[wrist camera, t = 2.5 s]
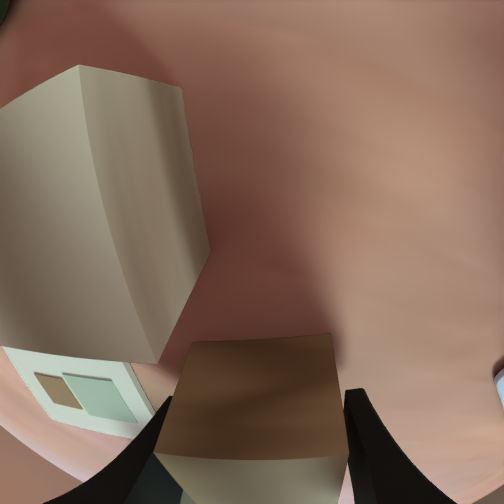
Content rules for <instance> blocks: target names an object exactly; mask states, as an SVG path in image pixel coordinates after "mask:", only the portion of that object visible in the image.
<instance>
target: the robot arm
mask: <svg viewBox="0 0 504 504" xmlns="http://www.w3.org/2000/svg"><path fill="white" fill-rule="evenodd" d="M494 383H495V386H496V389H497V392H498V395H499V398H500V401H501V404H502V407H503V411H504V368H503V369H502V370H501V371H500V372H499V373H498V374H497V375H496V376H495V379H494ZM172 397H173V396H169V397H168V398H167V399H166V400H165V402H164V403H163V404H162V406H161V407H160V408H159V409H158V411H157V412H156V413H155V415H154V416H153V417H152V418H151V420H150V421H149V422H148V423H147V424H146V426H145V427H144V428H143V429H142V430H141V432H140V433H139V434H138V435H137V436H136V437H135V439H134V440H133V441H132V442H131V443H130V444H129V445H128V446H127V447H126V448H125V449H124V450H123V451H122V452H121V453H120V454H119V455H118V456H117V457H116V458H115V459H114V460H113V461H112V462H111V463H109V464H108V465H107V466H106V467H105V468H104V469H102V470H101V471H100V472H98V473H97V474H96V475H94V476H93V477H92V478H90V479H89V480H87V481H86V482H84V483H83V484H81V485H79V486H78V487H76V488H74V489H73V490H71V491H69V492H67V493H65V494H63V495H61V496H59V497H57V498H55V499H52V500H50V501H48V502H45V503H43V504H180V502H181V497H182V493H183V489H182V487H181V486H180V485H179V484H178V483H177V482H176V480H175V479H174V478H173V477H172V476H171V474H170V473H169V472H168V471H167V469H166V468H165V467H164V466H163V464H162V463H161V462H160V461H159V459H158V458H157V457H156V455H155V454H154V453H153V452H154V449H155V446H156V443H157V440H158V437H159V434H160V432H161V429H162V426H163V423H164V420H165V417H166V414H167V412H168V409H169V406H170V403H171V400H172ZM343 413H344V420H345V426H346V434H347V441H348V449H349V457H348V467H349V472H350V477H351V482H352V488H353V493H354V501H355V504H457V503H456V502H454V501H453V500H452V499H450V498H449V497H448V496H446V495H445V494H444V493H443V492H442V491H441V490H439V489H438V488H437V487H436V486H435V485H434V484H433V483H432V482H430V481H429V480H428V479H427V478H426V477H425V476H424V475H423V474H422V473H421V472H420V471H419V470H418V468H417V467H416V466H415V465H414V464H413V463H412V462H411V461H410V459H409V458H408V457H407V456H406V455H405V453H404V452H403V451H402V450H401V448H400V447H399V446H398V444H397V443H396V442H395V440H394V439H393V437H392V436H391V435H390V433H389V432H388V430H387V429H386V427H385V426H384V424H383V423H382V421H381V419H380V418H379V416H378V414H377V413H376V411H375V409H374V408H373V406H372V404H371V402H370V400H369V398H368V396H367V394H366V392H365V390H364V389H363V388H358V389H351V390H345V399H344V409H343Z"/></svg>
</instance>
